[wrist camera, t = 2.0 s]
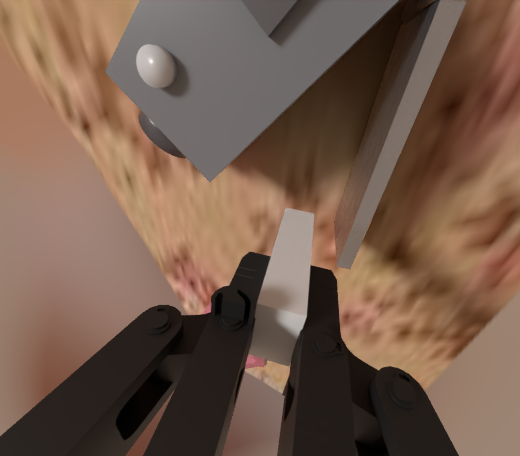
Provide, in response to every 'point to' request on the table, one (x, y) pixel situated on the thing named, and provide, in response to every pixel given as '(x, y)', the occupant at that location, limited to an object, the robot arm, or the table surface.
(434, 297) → the table surface
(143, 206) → the table surface
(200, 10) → the grey knobbed block
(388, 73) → the side door
